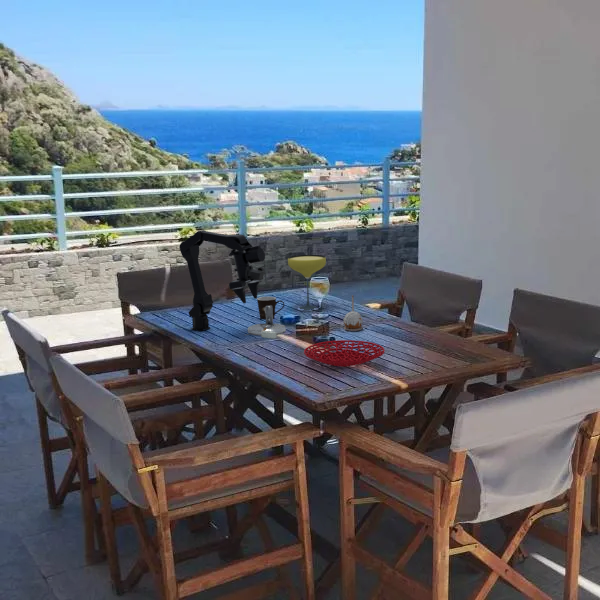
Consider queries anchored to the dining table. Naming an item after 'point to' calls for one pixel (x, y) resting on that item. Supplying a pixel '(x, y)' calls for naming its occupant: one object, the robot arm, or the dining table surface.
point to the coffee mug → (267, 302)
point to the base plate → (267, 334)
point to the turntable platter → (267, 325)
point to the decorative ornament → (353, 319)
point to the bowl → (344, 353)
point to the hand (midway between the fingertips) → (250, 301)
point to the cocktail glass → (307, 269)
